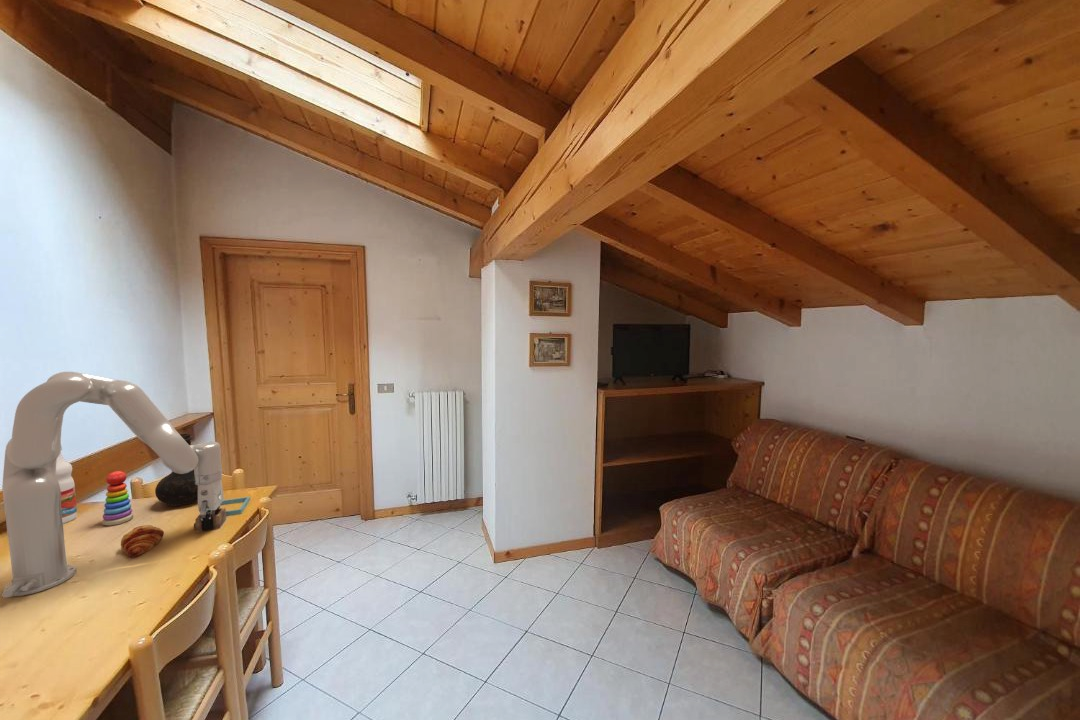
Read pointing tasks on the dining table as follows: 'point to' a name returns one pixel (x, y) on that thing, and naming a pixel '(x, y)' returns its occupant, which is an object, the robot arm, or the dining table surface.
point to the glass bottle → (178, 486)
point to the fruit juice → (66, 489)
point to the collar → (217, 519)
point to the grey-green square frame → (237, 500)
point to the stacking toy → (117, 500)
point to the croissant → (141, 540)
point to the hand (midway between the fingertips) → (211, 524)
